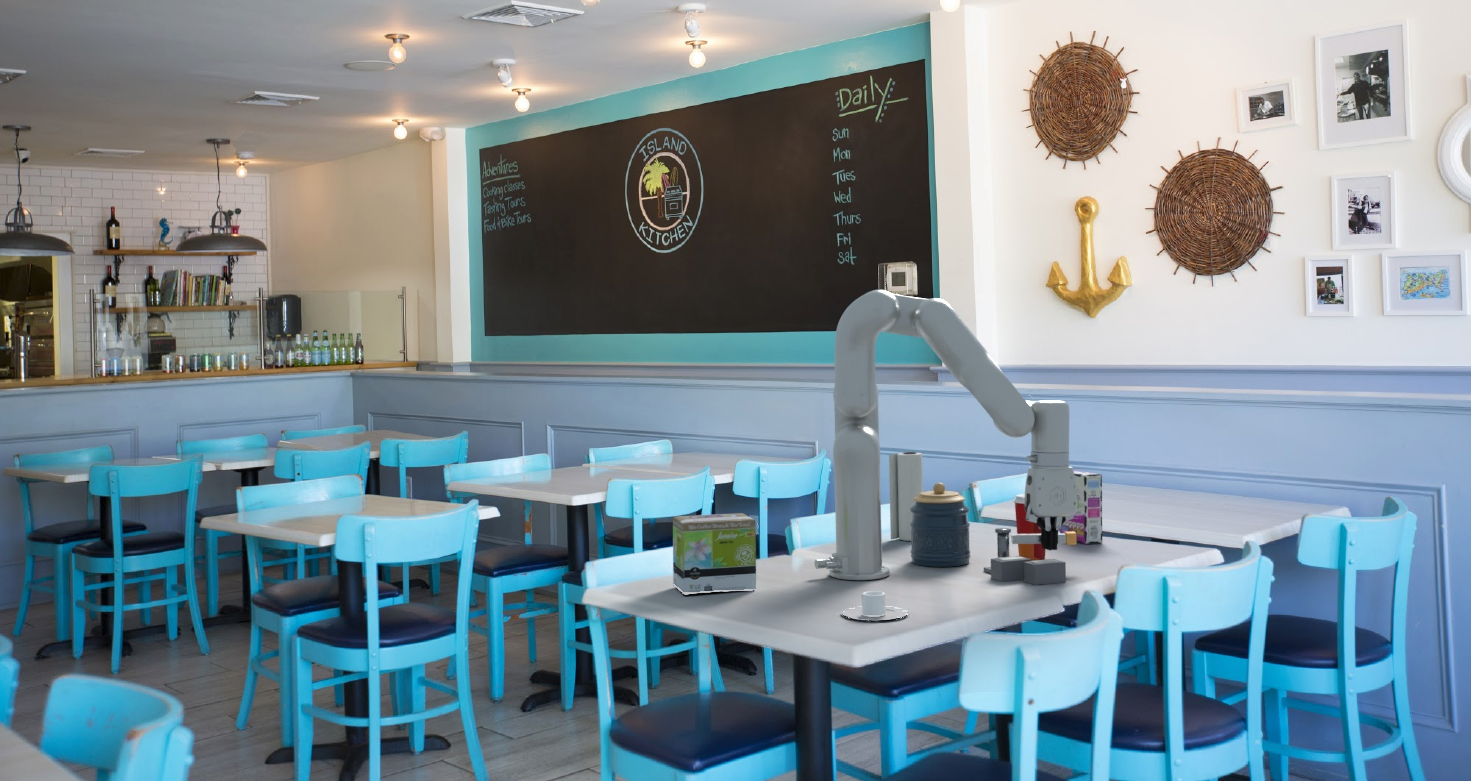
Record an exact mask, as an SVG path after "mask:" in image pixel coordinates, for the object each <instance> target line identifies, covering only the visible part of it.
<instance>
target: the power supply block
mask: <svg viewBox="0 0 1471 781" xmlns="http://www.w3.org/2000/svg"><path fill="white" fill-rule="evenodd" d="M1066 563H1067V562H1066V561H1063V560H1059V559H1055V558H1051V559H1050V558H1047V559H1046V558H1045V559H1044V560H1036V561H1029V562H1024V579H1023V580H1024V581H1023V582H1024V583H1027V584H1029V585H1033V584H1034V585H1033V586H1040V585H1039V584H1044V585H1051V584H1060V583H1067V577H1066V576H1067V574H1066V573H1067V572H1066V571H1067V570H1066V569H1067V568H1066V565H1067V564H1066Z"/></svg>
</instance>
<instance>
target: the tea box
mask: <svg viewBox="0 0 1471 781" xmlns="http://www.w3.org/2000/svg"><path fill="white" fill-rule="evenodd" d="M756 523H757V522H756V519H754V518H752V517H750V516H748V515H746V514H745V513H743V512H740V513H737V512H736V513H717V514H715V513H714V514H698V515H697V514H696V515H679V516H677V515H676V516H673V517H672V561H673V562H672V566H673V567H672V571H673V572H672V577H673V579H672V581H673V582H672V583H673V584H675V585H676V586H677V587H679V588H680V589H681V590H682V591H683V592H700V591H714V590H744V589H756V590H757V552H756V551H757V546H756V544H757V542H756V540H757V538H756V537H757V536H756V534H757V531H756V529H757V528H756V527H757V524H756Z"/></svg>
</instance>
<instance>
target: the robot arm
mask: <svg viewBox="0 0 1471 781" xmlns="http://www.w3.org/2000/svg"><path fill="white" fill-rule="evenodd" d="M835 331H836V332H835V337H834V339H835V340H834V387H833V392H832V393H833V394H832V395H833V401H834V402H833V404H834V406H833V407H834V442H833V448H832V450H833V451H832V452H833V454H832V455H833V458H832V460H833V477H834V478H833V480H834V508H835V510H834V511H835V514H834V516H835V517H834V518H835V552H834V553H833V552H832V553H831V556H829V557H828V558H818V559H815V560H814V568H815V569H818V570H819V569H820V570H821V569H826V570H829V576H830V577H832V578H835V579H840V580H849V581H868V580H869V581H871V580H872V581H873V580H878V579H883V578H887V577H889V576H890V569H889V567H887V566H885V565H883V549H882V548H883V546H882V541H883V540H882V506H881V505H882V503H881V499H882V498H881V444H880V432H879V430H880V427H879V424H880V423H879V420H880V419H879V388H878V386H877V378H876V376H877V374H876V355H877V354H876V343H877V339H878V337H879V334H880V333H881V332H882V333H889V334H895V335H899V336H900V335H901V336H907V337H914V338H923V340H924V341H925V343H927V345H928V346H929V347H930V348H931V349H932V351H933V352H934V354H936V356H937V357H938V359H939V360H940V361H941V362H942V364H944V366H945V367H946V369H947V370H948V371H949V372H950V375H952V376H953V377H954V379H956V381H958V383H959V384H960V385H962V386H963V387H964V388H965V389H967V391H968V392H969V393H970V394H971V395H972V396H973V397H974V398H975V399H976V400H977V402H978V403H979V405H981V407H982V408H983V410H985V412H986V413H987V414H988V416H989V417H990V418H991V420H992V423H993V424H994V426H995V428H996V429H997V430H998V431H1000V432H1001V433H1003V434H1004V435H1005V436H1007V437H1010V438H1014V439H1018V438H1023V437H1025V436H1026V435H1028V434H1029V433H1031V439H1030V440H1031V444H1030V446H1031V449H1030V450H1031V452H1030V455H1027V456H1026V462H1027V463H1030V465H1031V466H1029V467H1028V470H1027V474H1026V479H1025V486H1024V494H1025V499H1024V505H1025V512H1026V513H1027V514H1026V520H1027V521H1030V522H1034V523H1036V524H1037V525H1038V526H1039V529H1041V544H1042V548H1044V549H1046V550H1047V551H1057V550H1058V544H1059V543H1058V533H1059V531H1060V529H1061V526H1062V524H1063V523H1064V522H1065V521H1068V520H1071V519H1073V518H1074V515H1073V514H1075V513H1076V512H1077V491H1076V481H1075V476H1074V471H1075V470H1074V468H1073V466H1070V406H1069V404H1068V402H1066V401H1064V400H1059V399H1058V400H1057V399H1055V400H1054V399H1052V400H1051V399H1043V400H1036V401H1034V400H1033V401H1031V400H1026V399H1025V398H1024V397H1023V395H1022V394H1021V392H1019V390H1018V389H1017V388H1016V387H1015V385H1014V384H1013V383H1012V382H1011V381H1010V379H1009V378H1008V377H1007V376H1006V374H1005V373H1004V372H1003V371H1002V369H1001V368H1000V367H999V366H998V364H997V363H996V361H995V360H994V358H993V357H992V356H991V354H990V353H989V352H988V350H987V349H986V348H985V347H984V345H983V344H982V343H981V342H980V341H979V339H978V338H977V337H976V336H975V335H974V334H973V332H972V330H971V329H970V328H969V327H968V325H967V324H966V323H965V322H964V321H963V319H962V318H961V316H959V314H958V313H957V312H956V311H955V309H954V308H953V307H952V306H951V305H950V304H949V303H948V302H947V301H946V300H944V299H941V298H938V297H934V298H922V297H914V296H907V295H902V294H897V293H896V294H895V293H891V292H890V291H888V290H885V289H874V290H871V291H868V292H866V293H864V294H863V295H861V296H859V297H858V298H856V299H854V301H853V302H851V303H850V304H849V305H848V306H847V307H846V309H845V310H844V312H843V313H842V315H841V317H840V319H839V321H838V324H837V326H836V330H835ZM1035 515H1037V517H1036V516H1035Z"/></svg>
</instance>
